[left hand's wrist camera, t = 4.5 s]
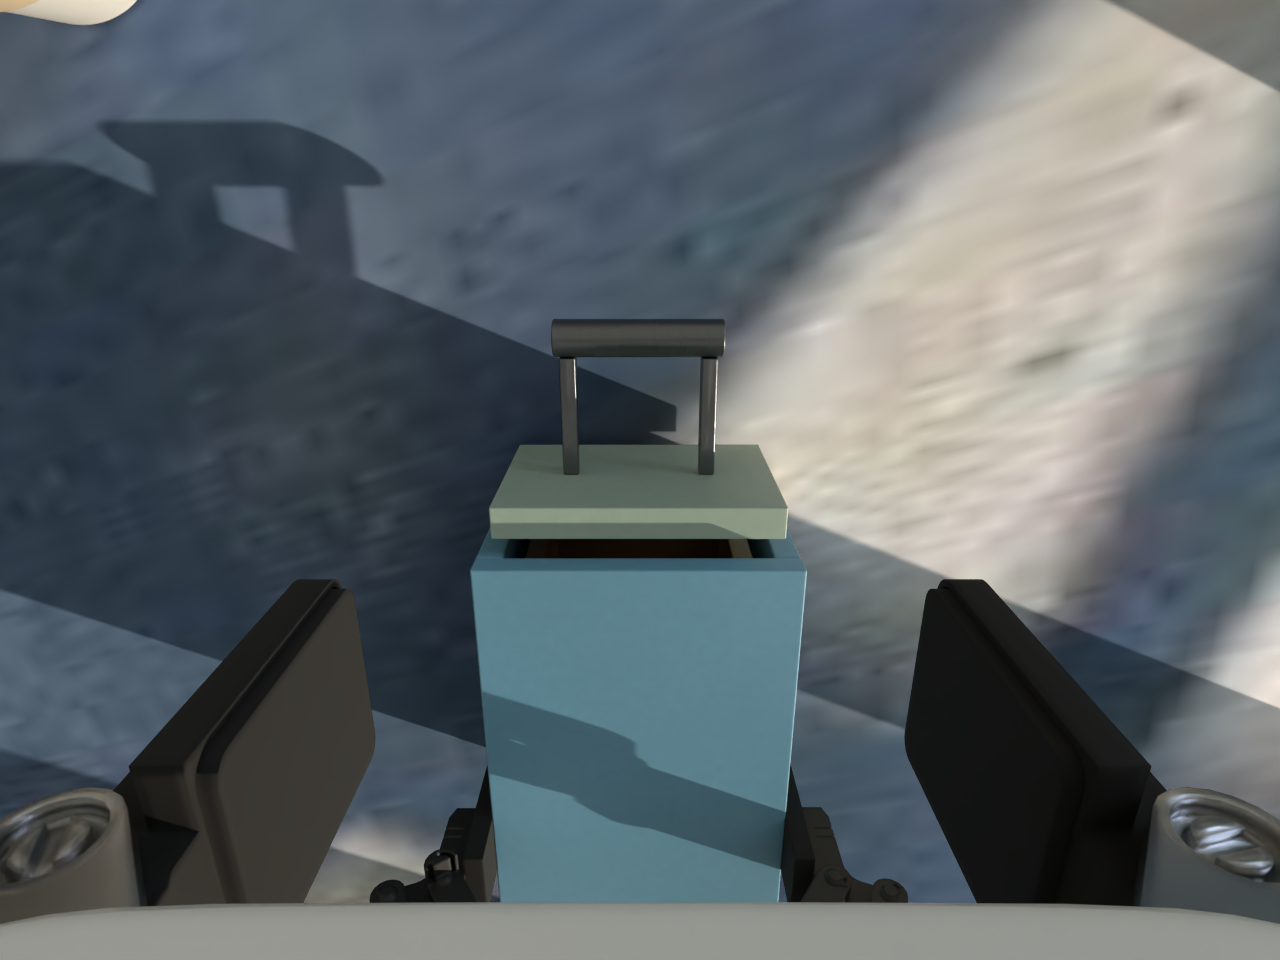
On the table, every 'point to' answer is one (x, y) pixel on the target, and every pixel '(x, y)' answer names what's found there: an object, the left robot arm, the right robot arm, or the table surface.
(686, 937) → the left robot arm
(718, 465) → the drawer
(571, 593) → the cabinet
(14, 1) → the coffee cup
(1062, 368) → the table surface
